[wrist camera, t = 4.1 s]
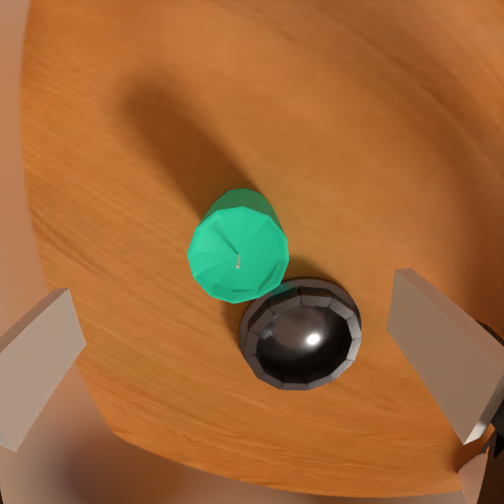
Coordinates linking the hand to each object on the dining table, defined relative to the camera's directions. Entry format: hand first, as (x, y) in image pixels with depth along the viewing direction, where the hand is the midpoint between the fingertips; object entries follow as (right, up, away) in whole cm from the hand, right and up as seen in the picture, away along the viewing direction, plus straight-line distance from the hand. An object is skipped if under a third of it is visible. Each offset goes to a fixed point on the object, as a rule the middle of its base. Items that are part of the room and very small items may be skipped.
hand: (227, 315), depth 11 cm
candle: (0, +5, +17) cm, 18 cm away
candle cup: (+6, -6, +20) cm, 22 cm away
